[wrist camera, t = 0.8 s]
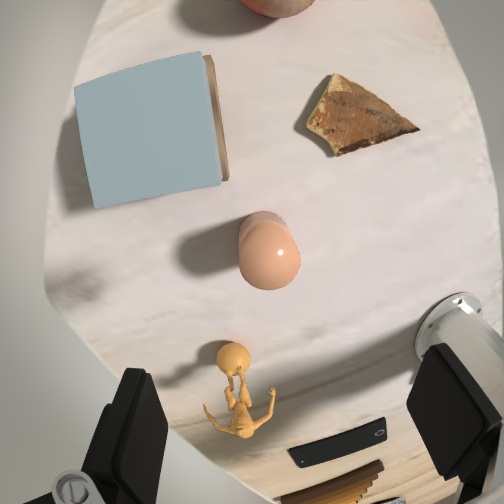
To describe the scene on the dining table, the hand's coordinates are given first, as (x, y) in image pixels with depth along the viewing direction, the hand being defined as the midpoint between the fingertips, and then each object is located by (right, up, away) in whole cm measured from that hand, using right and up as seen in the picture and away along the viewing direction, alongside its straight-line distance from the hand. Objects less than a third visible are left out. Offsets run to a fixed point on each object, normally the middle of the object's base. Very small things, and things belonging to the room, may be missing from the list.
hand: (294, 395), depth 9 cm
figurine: (-3, -8, +28) cm, 30 cm away
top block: (-9, +15, +14) cm, 23 cm away
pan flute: (+22, -56, +49) cm, 78 cm away
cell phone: (+15, -31, +39) cm, 51 cm away
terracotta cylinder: (0, +6, +22) cm, 23 cm away
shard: (+9, +19, +18) cm, 28 cm away
